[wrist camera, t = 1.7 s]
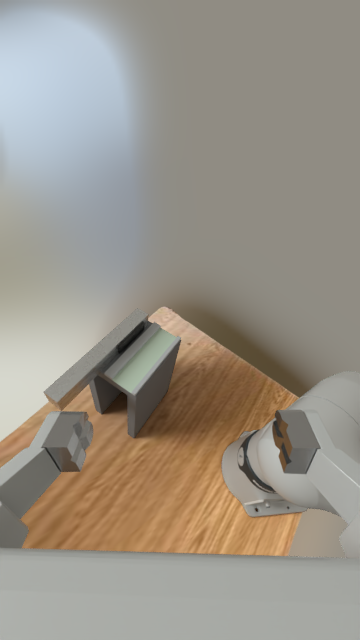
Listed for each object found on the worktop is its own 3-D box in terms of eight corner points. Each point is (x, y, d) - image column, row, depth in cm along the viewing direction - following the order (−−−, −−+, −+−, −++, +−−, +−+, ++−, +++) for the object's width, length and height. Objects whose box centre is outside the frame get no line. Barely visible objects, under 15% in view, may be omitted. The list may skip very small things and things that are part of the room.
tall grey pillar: (133, 368, 77) (134, 310, 57) (167, 391, 73) (181, 338, 53) (96, 410, 67) (81, 357, 47) (133, 438, 63) (136, 394, 43)
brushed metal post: (137, 318, 56) (137, 308, 54) (149, 325, 55) (150, 315, 53) (48, 400, 41) (43, 391, 39) (63, 412, 40) (59, 404, 38)
